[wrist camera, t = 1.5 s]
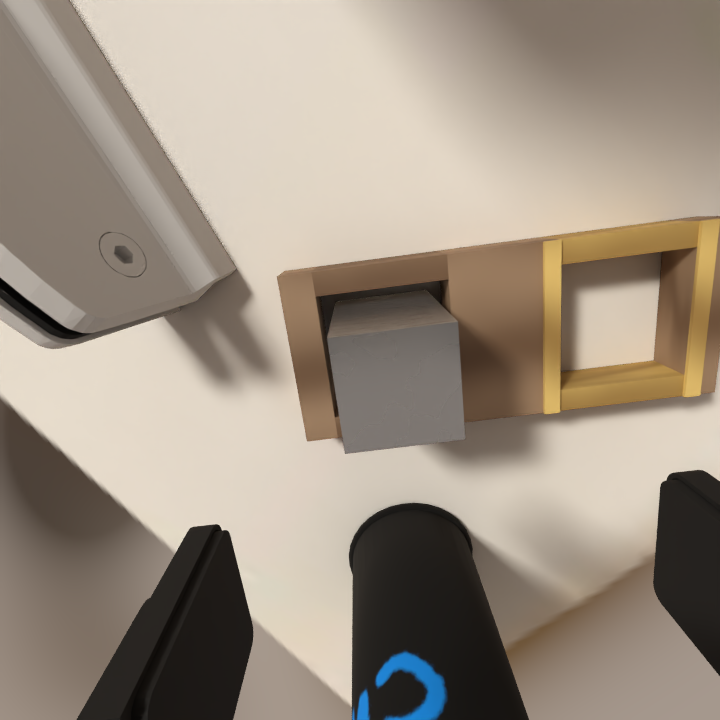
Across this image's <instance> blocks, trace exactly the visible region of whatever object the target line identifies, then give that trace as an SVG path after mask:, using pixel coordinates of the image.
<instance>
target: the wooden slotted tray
mask: <svg viewBox="0 0 720 720" xmlns="http://www.w3.org/2000/svg"><path fill="white" fill-rule="evenodd" d="M655 252H662V261H661V274H660V287H659V300H658V313H657V326H656V339H655V352H654V361H647V362H639V363H631V364H622V365H614V366H606V367H598V368H590V369H582V370H574V371H566V372H560V363H561V265H563V264H570V263H578V262H586V261H593V260H601V259H609V258H616V257H624V256H632V255H639V254H647V253H655ZM277 280H278V286H279V291H280V296H281V302H282V307H283V313H284V318H285V324H286V329H287V335H288V340H289V345H290V351H291V356H292V362H293V367H294V373H295V378H296V383H297V389H298V394H299V400H300V405H301V411H302V416H303V422H304V427H305V432H306V438H307V441H315V440H323V439H331V438H339V437H342V431H341V425H340V418H339V412H338V405H337V400H336V393H335V387H334V380H333V374H332V368H331V361H330V355H329V348H328V342H327V336H326V329H325V323H324V316H323V310H322V304H321V297H320V296H325V295H332V294H340V293H348V292H355V291H363V290H371V289H378V288H386V287H394V286H401V285H409V284H417V283H424V282H432V281H440V288H441V301H442V306H443V307H444V308H445V309H446V310H447V311H448V312H449V313H450V314H451V315H452V316H453V317H454V318H455V319H456V320H457V321H458V331H459V347H460V363H461V379H462V395H463V411H464V422H472V421H480V420H488V419H497V418H505V417H513V416H521V415H530V414H538V413H544V414H552V413H560V411H563V410H571V409H579V408H587V407H596V406H604V405H612V404H621V403H629V402H637V401H645V400H654V399H662V398H670V397H678V396H683V397H693V396H700V394H703V393H711V392H715V385H716V377H717V369H718V360H719V352H720V216H708V217H690V218H683V219H675V220H668V221H660V222H653V223H645V224H637V225H630V226H622V227H615V228H607V229H600V230H592V231H585V232H577V233H569V234H562V235H554V236H547V237H539V238H532V239H524V240H516V241H509V242H501V243H494V244H486V245H479V246H471V247H463V248H456V249H448V250H441V251H433V252H426V253H418V254H410V255H403V256H395V257H388V258H380V259H373V260H365V261H357V262H350V263H342V264H335V265H327V266H320V267H312V268H304V269H297V270H289V271H284V272H283V273H281V274H280V275H279V276H277Z"/></svg>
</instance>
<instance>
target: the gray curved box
mask: <svg viewBox="0 0 720 720" xmlns="http://www.w3.org/2000/svg"><path fill="white" fill-rule="evenodd" d="M235 270H236V267H235V265H234V264H233V262H232V261H231V259H230V257H229V256H228V254H227V253H226V251H225V249H224V248H223V246H222V245H221V243H220V241H219V240H218V238H217V237H216V235H215V233H214V232H213V230H212V229H211V227H210V225H209V224H208V222H207V221H206V219H205V217H204V216H203V214H202V213H201V211H200V209H199V208H198V206H197V205H196V203H195V201H194V200H193V198H192V197H191V195H190V193H189V192H188V190H187V189H186V187H185V185H184V184H183V182H182V181H181V179H180V177H179V176H178V174H177V173H176V171H175V169H174V168H173V166H172V165H171V163H170V161H169V160H168V158H167V157H166V155H165V153H164V152H163V150H162V149H161V147H160V145H159V144H158V142H157V141H156V139H155V137H154V136H153V134H152V133H151V131H150V129H149V128H148V126H147V125H146V123H145V121H144V120H143V118H142V117H141V115H140V113H139V112H138V110H137V109H136V107H135V105H134V104H133V102H132V101H131V99H130V97H129V96H128V94H127V93H126V91H125V89H124V88H123V86H122V85H121V83H120V81H119V80H118V78H117V77H116V75H115V73H114V72H113V70H112V69H111V67H110V65H109V64H108V62H107V61H106V59H105V57H104V56H103V54H102V53H101V51H100V49H99V48H98V46H97V45H96V43H95V41H94V40H93V38H92V37H91V35H90V33H89V32H88V30H87V29H86V27H85V25H84V24H83V22H82V21H81V19H80V17H79V16H78V14H77V13H76V11H75V9H74V8H73V6H72V5H71V3H70V1H69V0H0V320H2V321H3V322H4V323H6V324H7V325H9V326H10V327H12V328H13V329H15V330H16V331H18V332H19V333H21V334H22V335H24V336H25V337H27V338H28V339H30V340H31V341H33V342H34V343H36V344H37V345H39V346H42V347H45V348H50V349H59V348H64V347H68V346H72V345H76V344H80V343H83V342H86V341H89V340H92V339H95V338H98V337H101V336H104V335H107V334H111V333H114V332H117V331H120V330H123V329H126V328H129V327H132V326H135V325H138V324H141V323H144V322H147V321H150V320H153V319H156V318H159V317H162V316H165V315H168V314H171V313H175V312H178V311H181V310H180V309H179V306H183V305H186V304H189V303H192V302H195V301H197V300H198V299H199V298H200V297H201V296H202V295H203V294H204V293H205V292H206V291H207V290H208V289H209V288H210V287H211V286H212V285H213V284H214V283H215V282H217V281H219V280H221V279H223V278H225V277H227V276H229V275H231V274H232V273H233V272H234V271H235Z"/></svg>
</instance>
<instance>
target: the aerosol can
mask: <svg viewBox="0 0 720 720" xmlns="http://www.w3.org/2000/svg"><path fill="white" fill-rule="evenodd" d="M472 551H473V548H472V544H471V539H470V537H469V535H468V533H467V531H466V529H465V528H464V526H463V525H462V524H461V523H460V522H459V520H458V519H456V518H455V517H454V516H452V515H451V514H450V513H448V512H446V511H444V510H442V509H440V508H438V507H435V506H431V505H428V504H419V503H408V504H400V505H395V506H391V507H388V508H386V509H384V510H381V511H379V512H377V513H376V514H374V515H373V516H371V517H370V518H368V519H367V520H366V521H365V522H364V523H363V524H362V525H361V526H360V528H359V529H358V531H357V532H356V534H355V535H354V538H353V540H352V543H351V545H350V552H349V562H350V568H351V571H352V574H353V624H352V720H529V718H528V716H527V713H526V710H525V707H524V704H523V701H522V698H521V695H520V692H519V690H518V687H517V684H516V681H515V678H514V675H513V672H512V669H511V667H510V664H509V661H508V658H507V655H506V652H505V649H504V646H503V644H502V641H501V638H500V635H499V632H498V629H497V626H496V623H495V620H494V618H493V615H492V612H491V609H490V606H489V603H488V600H487V597H486V595H485V592H484V589H483V586H482V583H481V580H480V577H479V574H478V572H477V569H476V566H475V563H474V560H473V557H472Z"/></svg>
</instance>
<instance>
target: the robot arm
mask: <svg viewBox="0 0 720 720" xmlns="http://www.w3.org/2000/svg"><path fill="white" fill-rule="evenodd" d="M653 584H654V590H655V593H656V595H657V597H658V599H659V600H660V602H661V604H662V605H663V606H664V607H665V609H666V610H667V611H668V612H669V614H670V615H671V616H672V617H673V619H674V620H675V621H676V622H677V624H678V625H679V626H680V627H681V628H682V630H683V631H684V632H685V634H686V635H687V636H688V637H689V638H690V640H691V641H692V642H693V643H694V645H695V646H696V647H697V648H698V650H699V651H700V652H701V653H702V654H703V656H704V657H705V658H706V660H707V661H708V662H709V663H710V664H711V666H712V667H713V668H714V669H715V671H716V672H717V673H718V674H719V676H720V481H718V480H717V479H716V478H714V477H713V476H711V475H710V474H708V473H707V472H705V471H703V470H694V471H685V472H676V473H672V474H670V475H669V476H668V477H667V481H664V482H662V484H661V487H660V499H659V513H658V526H657V540H656V553H655V567H654V581H653ZM252 642H253V625H252V621H251V617H250V613H249V609H248V605H247V601H246V597H245V593H244V589H243V585H242V581H241V577H240V573H239V569H238V565H237V561H236V557H235V553H234V549H233V545H232V541H231V537H230V534H229V532H228V531H227V530H224V531H222V530H221V527H220V526H219V525H217V524H215V525H206V526H197V527H192V528H190V529H189V531H188V532H187V534H186V536H185V538H184V539H183V541H182V543H181V545H180V546H179V548H178V550H177V552H176V553H175V555H174V557H173V559H172V561H171V562H170V564H169V566H168V568H167V569H166V571H165V573H164V575H163V576H162V578H161V580H160V582H159V584H158V585H157V587H156V589H155V591H154V593H153V594H152V596H151V598H149V599H148V600H146V602H145V603H144V604H143V606H142V607H141V609H140V610H139V612H138V614H137V616H136V617H135V619H134V621H133V622H132V624H131V626H130V628H129V629H128V631H127V633H126V635H125V636H124V638H123V640H122V642H121V644H120V645H119V647H118V649H117V650H116V653H115V654H114V656H113V657H112V659H111V661H110V663H109V664H108V666H107V668H106V669H105V671H104V673H103V675H102V677H101V678H100V680H99V682H98V683H97V685H96V687H95V689H94V691H93V692H92V694H91V696H90V697H89V699H88V701H87V703H86V704H85V706H84V708H83V709H82V711H81V713H80V715H79V716H78V718H77V720H233V718H234V714H235V710H236V706H237V701H238V698H239V694H240V690H241V686H242V682H243V679H244V674H245V670H246V667H247V663H248V659H249V655H250V651H251V647H252Z"/></svg>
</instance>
